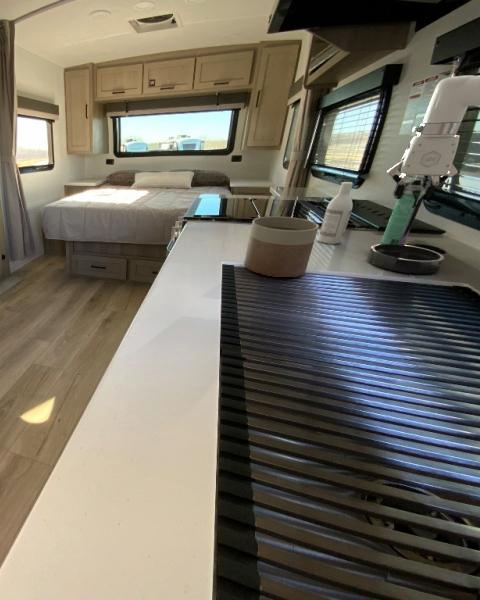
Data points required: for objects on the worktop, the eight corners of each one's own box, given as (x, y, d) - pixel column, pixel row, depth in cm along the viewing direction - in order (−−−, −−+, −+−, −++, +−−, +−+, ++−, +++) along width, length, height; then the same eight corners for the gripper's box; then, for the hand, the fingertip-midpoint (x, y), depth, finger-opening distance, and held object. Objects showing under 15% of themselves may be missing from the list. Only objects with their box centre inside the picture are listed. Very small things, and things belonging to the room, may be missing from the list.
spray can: (407, 248, 102) (436, 180, 93) (389, 249, 103) (416, 181, 93) (392, 243, 107) (419, 178, 98) (375, 243, 107) (400, 179, 98)
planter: (247, 277, 93) (257, 229, 87) (240, 258, 106) (248, 215, 100) (312, 282, 89) (327, 231, 82) (296, 261, 102) (308, 216, 96)
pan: (425, 259, 99) (431, 246, 98) (447, 278, 87) (454, 264, 85) (361, 253, 106) (366, 241, 104) (373, 270, 94) (379, 257, 92)
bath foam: (332, 238, 121) (350, 180, 112) (345, 244, 114) (366, 183, 105) (313, 239, 121) (329, 181, 112) (325, 244, 115) (344, 184, 106)
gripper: (401, 132, 91) (377, 199, 99) (489, 129, 83) (455, 202, 92) (393, 131, 96) (370, 195, 105) (474, 129, 89) (443, 197, 98)
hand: (410, 198), depth 98 cm, fingers closed on spray can, 5 cm apart
